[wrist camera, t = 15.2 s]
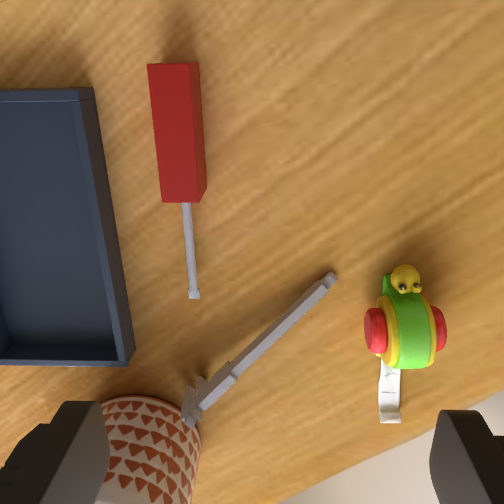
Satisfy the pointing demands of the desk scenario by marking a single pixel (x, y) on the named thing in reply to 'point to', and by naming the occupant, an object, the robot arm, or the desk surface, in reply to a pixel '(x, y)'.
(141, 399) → the planter
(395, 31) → the desk surface
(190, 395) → the caliper
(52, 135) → the tray
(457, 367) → the desk surface
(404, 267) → the toy measuring tape
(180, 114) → the screwdriver
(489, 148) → the desk surface
